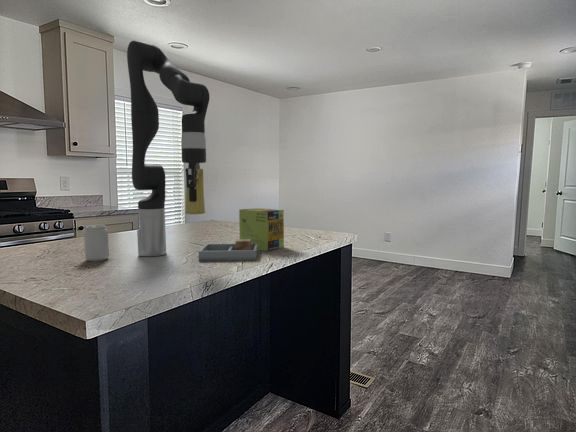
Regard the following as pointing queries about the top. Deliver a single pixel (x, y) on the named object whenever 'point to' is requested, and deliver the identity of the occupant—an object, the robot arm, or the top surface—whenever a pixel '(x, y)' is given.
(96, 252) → the can
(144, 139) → the robot arm
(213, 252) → the tray
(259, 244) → the protein box
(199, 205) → the vase
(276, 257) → the top surface
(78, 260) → the top surface
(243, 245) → the walnut cube
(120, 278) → the top surface
